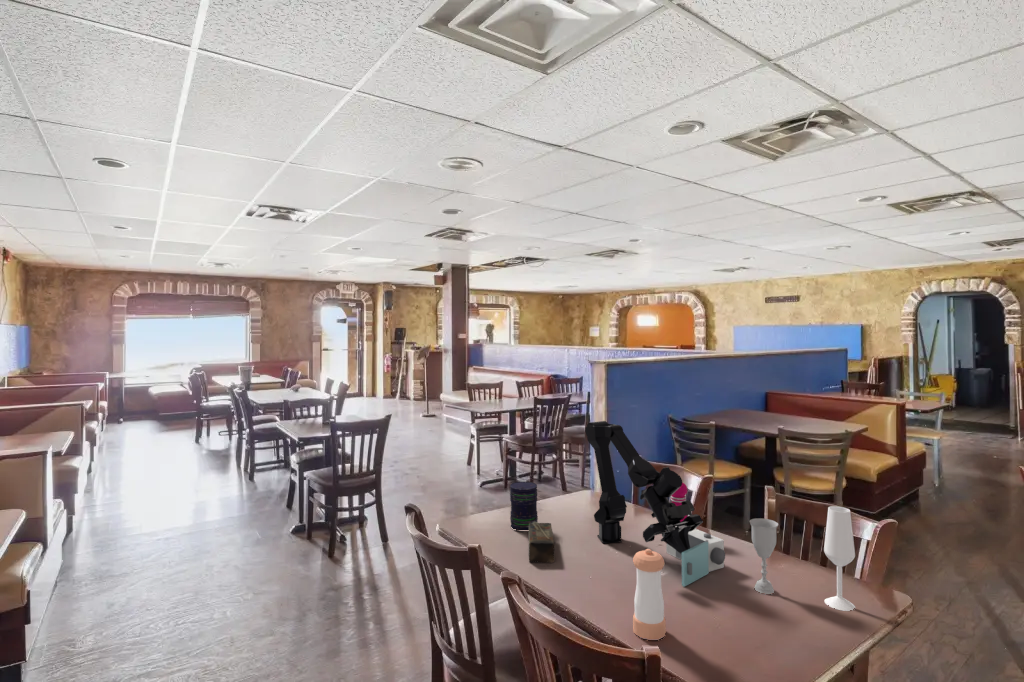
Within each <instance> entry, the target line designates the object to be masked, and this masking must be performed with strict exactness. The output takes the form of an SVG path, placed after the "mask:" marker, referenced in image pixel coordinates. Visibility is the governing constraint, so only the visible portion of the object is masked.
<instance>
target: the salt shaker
mask: <svg viewBox="0 0 1024 682" xmlns="http://www.w3.org/2000/svg"><path fill="white" fill-rule="evenodd" d="M632 561H633V562H632V563H633V565H634V567H635V568H636V586H635V592H634V598H633V599H634V600H633V603H634V605H633V606H634V613H633V616H632V626H633V627H632V628H633V629H632V631H633V634H634V633H635V634H636V635H638V636H640V637H642V638H647V639H659V638H661V637H663V636H664V635H665V633H666V634H667V631H666V630H667V629H666V626H667V621H666V617H665V601H664V594H663V590H662V570H663V569H664V566H665V560H664V557H663V556H662V555H661V554H660V553H659V552H657V551H655V550H654V551H653V550H651V549H650V548H646V549H643V550H640V551H637V552H635V554H634V555H633V559H632ZM635 634H634V635H635ZM636 635H635V636H636ZM638 636H637V637H638ZM665 636H666V635H665Z"/></svg>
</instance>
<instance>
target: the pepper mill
mask: <svg viewBox="0 0 1024 682" xmlns="http://www.w3.org/2000/svg"><path fill="white" fill-rule="evenodd" d="M687 494H688V486H687V485H686V483H685V482H683V481H682V486H681V487H680V488H679V489H678V490H677V491H676V492H675V493H674V494H673V495H671V496H670V501H671V503H675V505H676V506H680V505H682V501H687V496H686V495H687ZM687 516H688V515H686V516H685V517H684V518H683V519H682V520H680V522H682V521H683V520H684V519H685V518H686V517H687Z"/></svg>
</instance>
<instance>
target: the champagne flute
mask: <svg viewBox="0 0 1024 682" xmlns="http://www.w3.org/2000/svg"><path fill="white" fill-rule="evenodd" d="M852 523H853V522H852V514H851V510H850V508H847V507H843V506H836V505H835V506H834V505H833V506H828V507H827V517H826V526H825V536H824V547H823V552H824V554H825V556H826V557H827V558H828V560H829V561H831V563H832V564H833V565H835V566H836V595H835V596H831V597H827V598H825V599H824V604H825V605H827V606H828V605H829V606H828V607H829V608H832V609H834V608H835V610H839V611H844V612H850V610H852V611H854V610H855V609H856V606H855V605H854V603H852V602H851V601H850V600H848V599H846V598H845V597H843V567H845V566H847V565H849V564H850V563H851V562H853V560H854V559H855V557H856V551H855V542H854V541H855V540H854V532H853V531H854V530H853V524H852ZM854 608H855V609H854ZM853 609H854V610H853Z"/></svg>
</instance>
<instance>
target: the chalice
mask: <svg viewBox="0 0 1024 682" xmlns="http://www.w3.org/2000/svg"><path fill="white" fill-rule="evenodd" d="M749 524H750V526H751V541H752V546H753V548H754V550H755V551H756V553H757V556H758V557H760V558H761V563H760V566H761V570H760V573H761V579H758V580H757V581H756V583H755V586H754V587H753V589H754V588H755V590H756V591H758V592H760V593H759V594H761V593H765V594H764V595H766V594H771V593H774V591H775V590H774V587H773V584H772V583H771V581H770V580H768V579H767V574H768V573H769V572H768V570H767V566H768V564H767V559H769V558H770V557H771V555H772V553H773V552H774V551H775V547H776V545H777V528H778V527H779V523H778V521H777V522H776V521H775V520H772V519H769V518H768V519H767V518H761V517H760V518H756V517H755V518H752V519H749ZM755 590H754V591H755ZM756 591H755V592H756ZM758 592H757V593H758ZM774 594H775V593H774ZM771 595H772V594H771Z"/></svg>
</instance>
